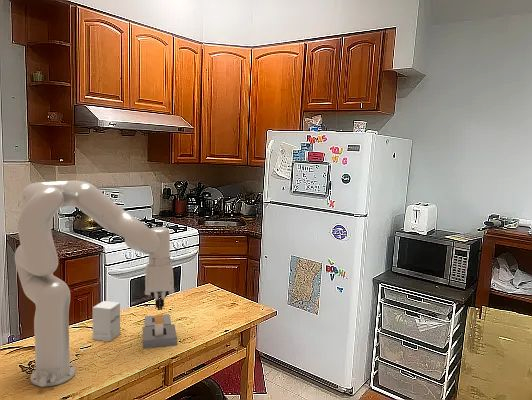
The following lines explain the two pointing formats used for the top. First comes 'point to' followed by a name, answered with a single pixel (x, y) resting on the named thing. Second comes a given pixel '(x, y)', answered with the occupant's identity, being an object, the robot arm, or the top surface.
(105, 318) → the supplement box
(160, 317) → the plug
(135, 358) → the top surface
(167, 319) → the grey slotted plate
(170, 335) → the port
